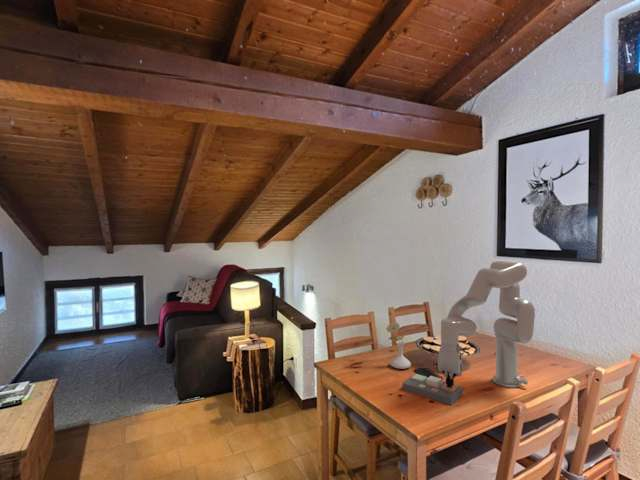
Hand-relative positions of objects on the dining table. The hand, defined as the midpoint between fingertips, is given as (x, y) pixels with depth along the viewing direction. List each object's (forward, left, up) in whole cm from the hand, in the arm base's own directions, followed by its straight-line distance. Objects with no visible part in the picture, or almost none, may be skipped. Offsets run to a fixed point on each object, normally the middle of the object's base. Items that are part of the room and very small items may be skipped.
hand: (449, 386), depth 158 cm
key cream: (+7, 0, -2) cm, 8 cm away
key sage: (+15, 0, -3) cm, 15 cm away
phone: (+17, -14, -5) cm, 23 cm away
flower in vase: (+34, -14, -4) cm, 37 cm away
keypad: (+8, +2, -4) cm, 9 cm away
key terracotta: (0, 0, -3) cm, 3 cm away
